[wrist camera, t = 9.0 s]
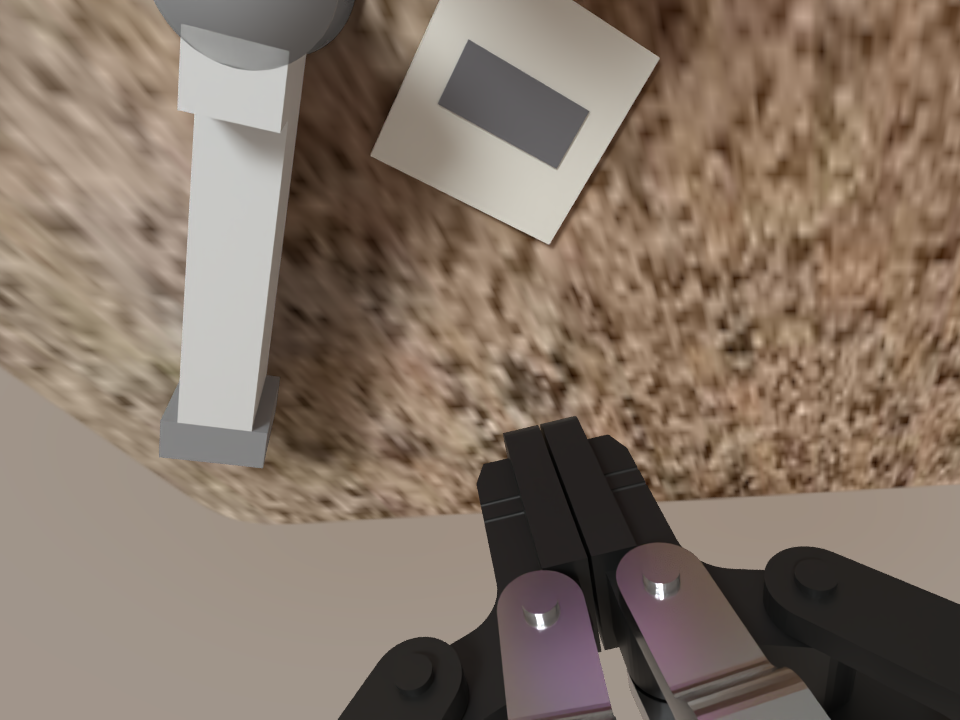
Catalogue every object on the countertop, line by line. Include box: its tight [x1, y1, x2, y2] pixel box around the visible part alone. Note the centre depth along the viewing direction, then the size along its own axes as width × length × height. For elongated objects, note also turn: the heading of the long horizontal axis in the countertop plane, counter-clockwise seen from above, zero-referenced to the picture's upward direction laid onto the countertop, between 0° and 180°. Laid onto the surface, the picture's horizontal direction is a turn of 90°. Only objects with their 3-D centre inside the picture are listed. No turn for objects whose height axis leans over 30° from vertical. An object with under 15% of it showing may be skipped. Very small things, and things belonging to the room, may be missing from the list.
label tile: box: [370, 0, 660, 244], centre depth 25 cm, size 8×8×1 cm
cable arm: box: [154, 0, 338, 468], centre depth 21 cm, size 18×4×6 cm, turn 165°
